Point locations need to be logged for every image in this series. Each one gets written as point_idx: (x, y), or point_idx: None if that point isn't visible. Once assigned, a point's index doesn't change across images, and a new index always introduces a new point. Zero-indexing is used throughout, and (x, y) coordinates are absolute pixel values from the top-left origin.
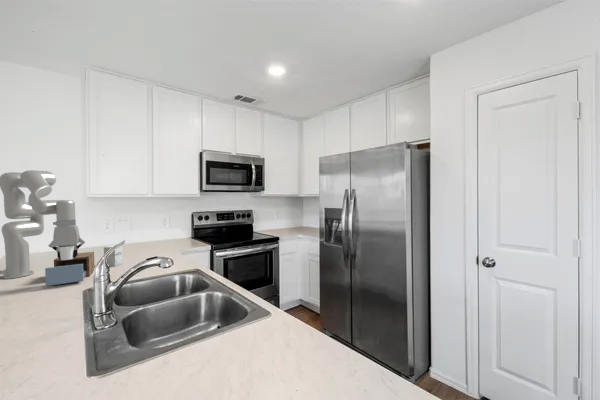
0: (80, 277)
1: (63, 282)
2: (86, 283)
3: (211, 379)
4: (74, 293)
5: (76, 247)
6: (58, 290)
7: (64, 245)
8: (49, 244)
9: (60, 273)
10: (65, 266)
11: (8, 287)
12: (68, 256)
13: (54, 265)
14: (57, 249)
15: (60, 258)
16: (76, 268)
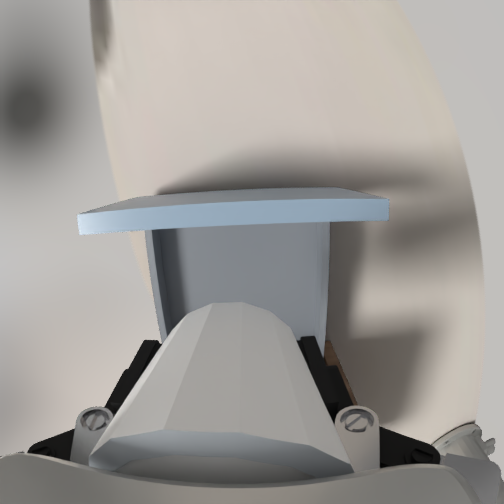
0: (141, 198)
1: (243, 189)
2: (124, 184)
3: None
4: (143, 11)
5: (75, 436)
6: (243, 97)
7: (230, 484)
8: (496, 487)
9: (261, 194)
10: (216, 202)
11: (478, 312)
12: (194, 324)
13: (353, 403)
14: (365, 435)
15: (298, 341)
16: (135, 205)
